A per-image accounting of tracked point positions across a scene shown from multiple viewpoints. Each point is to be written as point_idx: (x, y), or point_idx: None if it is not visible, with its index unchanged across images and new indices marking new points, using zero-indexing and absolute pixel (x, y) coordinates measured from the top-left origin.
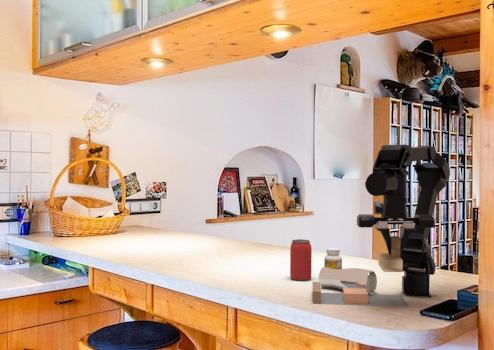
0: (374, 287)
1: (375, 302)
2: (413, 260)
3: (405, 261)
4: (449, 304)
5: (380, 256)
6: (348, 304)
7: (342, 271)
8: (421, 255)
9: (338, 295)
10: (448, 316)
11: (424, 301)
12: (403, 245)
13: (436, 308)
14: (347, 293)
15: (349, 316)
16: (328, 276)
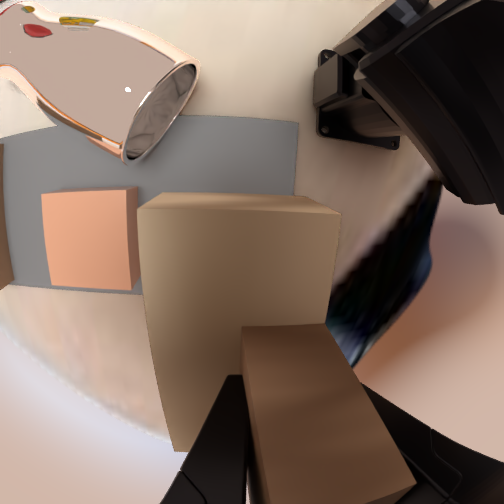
0: (188, 82)
1: None
2: (436, 164)
3: (392, 114)
4: (414, 234)
5: (152, 347)
6: (80, 287)
7: (25, 74)
8: (490, 203)
9: (48, 164)
10: (356, 353)
11: (360, 199)
12: None
13: (363, 285)
14: (60, 285)
15: (99, 380)
16: (3, 75)
